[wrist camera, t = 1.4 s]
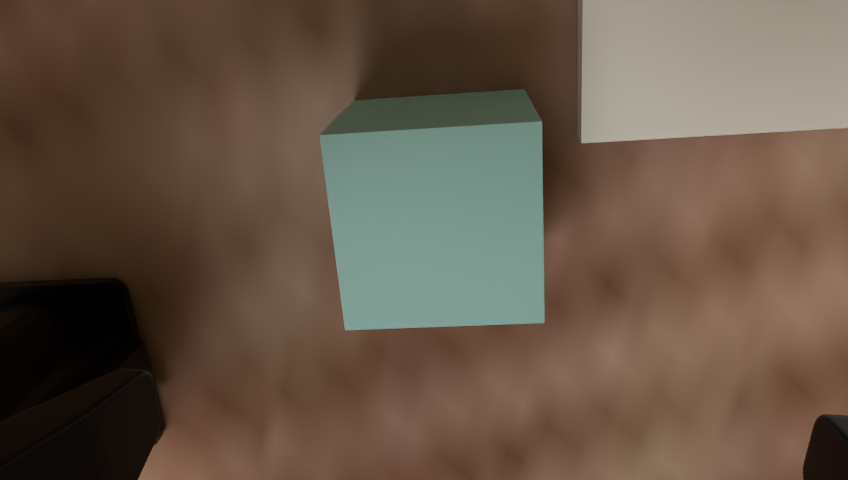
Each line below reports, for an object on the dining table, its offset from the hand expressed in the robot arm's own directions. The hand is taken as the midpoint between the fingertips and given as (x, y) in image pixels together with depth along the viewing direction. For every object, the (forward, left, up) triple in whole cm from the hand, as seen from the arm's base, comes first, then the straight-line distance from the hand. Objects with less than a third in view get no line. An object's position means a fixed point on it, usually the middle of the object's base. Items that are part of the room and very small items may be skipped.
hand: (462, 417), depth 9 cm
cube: (-1, 0, -12) cm, 12 cm away
